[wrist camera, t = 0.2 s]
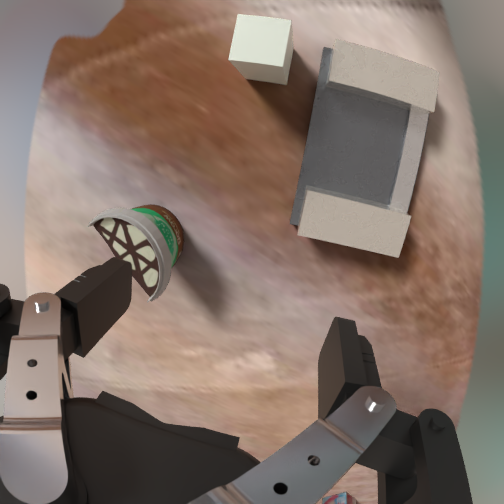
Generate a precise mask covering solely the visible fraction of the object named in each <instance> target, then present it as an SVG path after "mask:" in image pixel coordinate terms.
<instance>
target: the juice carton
mask: <svg viewBox="0 0 504 504" xmlns="http://www.w3.org/2000/svg"><path fill="white" fill-rule="evenodd" d="M322 504H356V499H355V498H353V497H352V496H351V495H350V494H348V493H347V492H343V493H340V494H336V495H333V496H329V497H325V498H322Z"/></svg>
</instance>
